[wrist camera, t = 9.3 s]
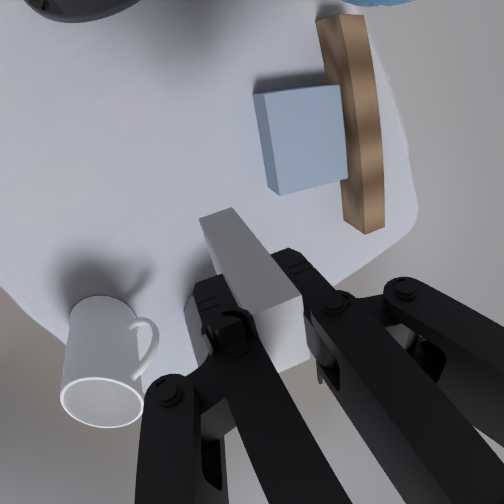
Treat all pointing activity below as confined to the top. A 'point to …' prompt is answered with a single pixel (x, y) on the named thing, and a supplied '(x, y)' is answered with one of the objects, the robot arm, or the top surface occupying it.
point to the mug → (104, 363)
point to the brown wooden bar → (356, 118)
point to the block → (301, 137)
